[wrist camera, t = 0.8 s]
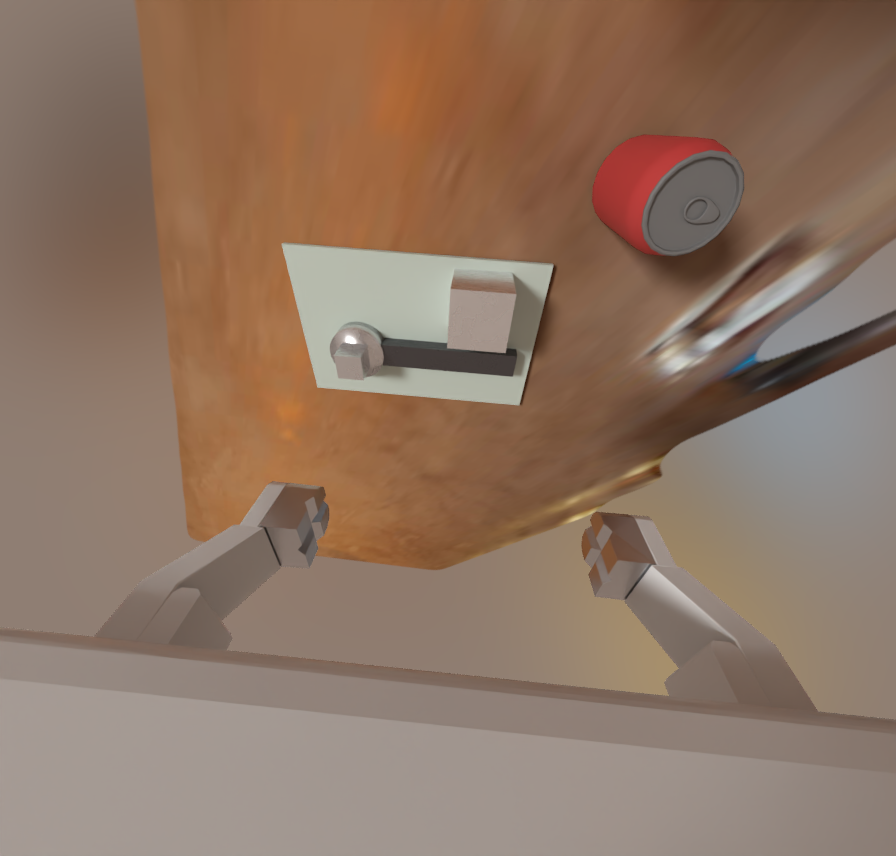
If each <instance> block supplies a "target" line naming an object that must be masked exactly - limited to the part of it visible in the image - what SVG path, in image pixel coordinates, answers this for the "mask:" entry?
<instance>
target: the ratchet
mask: <svg viewBox="0 0 896 856" xmlns="http://www.w3.org/2000/svg"><path fill="white" fill-rule="evenodd" d="M330 354H331V357H332V359H333V361H334V363H335V364H336V369H337V374H338V378H341V379H352V380H363V381H364V379H365V377H370V376H372V375H374V374H376V373H377V372H378V371H379V370H380V369H381V367H382V364H383V366H395V367H406V368H418V369H429V370H441V371H452V372H464V373H475V374H487V375H498V376H510V377H513V374H514V370H515V365H516V360H517V351H516V349H511V348H506V353H497V352H486V351H474V350H462V349H450V348H447V343H440V342H429V341H417V340H405V339H393V338H383V336H382V335H381V333H380V332H379V331H378V330H377V329H375V328H374V327H373V326H371V325H369V324H366V323H363V322H349V323H346V324H344V325H343V326H342V327H341V328H340V329H339V330H338V332H337V333H336V334H335V336H334V337H333V339H332V340H331V343H330Z"/></svg>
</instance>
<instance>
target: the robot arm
mask: <svg viewBox="0 0 896 856" xmlns="http://www.w3.org/2000/svg"><path fill="white" fill-rule="evenodd" d="M325 496H326V494H325V490H324V487H319V486H311V485H303V484H294V483H284V482H275V481H272V482H271V483H269V484H268V485H267V486H266V488H265V489H264V490H263V492H262V493H261V495H260V496H259V498H258V499H257V501H256V502H255V503H254V505H253V506H252V508H251V509H250V511H249V512H248V513H247V515H246V516H245V518H244V519H243V521H242V522H241V524H240V525H233V526H231V527H230V528H228V529H226V530H225V531H223V532H221V533H220V534H218V535H216V536H215V537H213V538H211V539H210V540H208V541H206V542H205V543H203V544H201V545H200V546H198V547H197V548H195V549H193V550H192V551H190V552H188V553H187V554H185V555H183V556H182V557H180V558H178V559H177V560H175V561H173V562H172V563H170V564H168V565H167V566H165V567H163V568H162V569H160V570H158V571H157V572H155V573H154V574H152V575H150V576H148V577H147V578H145V579H144V580H142V581H140V583H139V584H138V585H137V586H136V587H135V588H134V590H133V591H132V592H131V594H129V596H128V597H127V598H126V599H125V600H124V602H123V603H122V604H121V605H120V606H119V607H118V609H117V610H116V611H115V612H114V614H113V615H112V616H111V617H110V618H109V619H108V621H107V622H106V623H105V624H104V625H103V626H102V628H101V629H100V630H99V631H98V632H97V633H96V635H95V636H94V637H92V636H83V635H73V634H64V633H54V632H43V631H34V630H24V629H15V628H4V627H0V856H896V720H894V719H885V718H875V717H865V716H856V715H846V714H837V713H826V712H818V711H817V709H816V707H815V706H814V704H813V703H812V701H811V700H810V698H809V697H808V695H807V693H806V692H805V691H804V689H803V687H802V686H801V684H800V683H799V681H798V679H797V678H796V676H795V675H794V673H793V672H792V670H791V669H790V667H789V665H788V664H787V662H786V661H785V659H784V658H783V656H782V655H781V653H780V652H779V650H778V648H777V647H776V645H775V644H773V643H772V642H771V641H770V640H768V639H767V638H766V637H765V636H764V635H763V634H761V633H760V632H759V631H758V630H757V629H755V628H754V627H753V626H752V625H751V624H749V623H748V622H747V621H746V620H745V619H743V618H742V617H741V616H740V615H738V614H737V613H736V612H735V611H734V610H732V609H731V608H730V607H729V606H728V605H727V604H725V603H724V602H723V601H722V600H721V599H719V598H718V597H717V596H716V595H714V594H713V593H712V592H711V591H710V590H708V589H707V588H706V587H705V586H704V585H702V584H701V583H700V582H699V581H698V580H696V579H695V578H694V577H693V576H692V575H691V574H689V573H688V572H687V571H686V570H685V569H683V568H680V567H677V566H676V564H675V562H674V560H673V558H672V556H671V555H670V553H669V551H668V549H667V547H666V545H665V543H664V541H663V539H662V538H661V536H660V534H659V532H658V530H657V528H656V526H655V524H654V522H653V521H652V519H651V518H649V517H648V516H637V515H628V514H615V513H603V512H595V513H594V514H593V515H592V517H591V519H590V521H591V524H592V526H590V527H589V528H587V529H585V532H584V534H583V536H582V552H583V557H584V560H585V561H586V562H587V563H588V565H589V566H590V567H591V568H592V569H591V571H590V573H589V578H590V581H591V585H592V588H593V591H594V595H595V596H596V597H603V598H611V599H619V600H625V603H626V604H627V605H628V607H629V608H630V609H631V610H632V612H633V613H634V614H635V615H636V616H637V618H638V619H639V620H640V621H641V623H642V624H643V625H644V626H645V627H646V629H647V630H648V631H649V632H650V633H651V635H652V636H653V637H654V638H655V640H656V641H657V642H658V643H659V644H660V646H661V647H662V648H663V649H664V651H665V652H666V653H667V654H668V656H669V657H670V658H671V659H672V660H673V662H674V663H675V664H676V665H677V667H678V668H679V669H678V670H676V671H675V672H674V673H673V674H672V675H670V676H669V677H668V678H667V679H666V681H665V686H666V689H667V691H668V694H669V696H663V695H653V694H644V693H634V692H625V691H615V690H605V689H596V688H585V687H576V686H566V685H557V684H546V683H537V682H528V681H518V680H509V679H499V678H489V677H480V676H470V675H461V674H451V673H441V672H432V671H422V670H412V669H403V668H393V667H383V666H374V665H363V664H354V663H345V662H334V661H325V660H315V659H306V658H296V657H286V656H276V655H267V654H257V653H248V652H237V651H228V650H227V648H228V646H229V644H230V642H231V640H232V636H231V633H230V632H229V630H228V629H227V628H226V626H225V625H224V623H223V622H222V620H223V619H224V618H225V617H227V615H229V614H230V613H231V612H232V611H233V610H234V609H235V608H237V607H238V606H239V605H240V604H241V603H242V602H243V601H244V600H246V599H247V598H248V597H249V596H250V595H251V594H252V593H253V592H254V591H256V589H257V588H259V587H260V586H261V585H262V584H263V583H264V582H266V581H267V580H268V579H269V578H270V577H271V576H272V575H273V574H275V573H276V572H277V571H278V570H279V569H280V566H283V567H296V568H310V566H311V564H312V561H313V559H314V557H315V554H316V552H317V550H318V546H317V542H316V541H317V540H318V539H320V538H321V537H322V536H324V534H325V531H326V529H327V526H328V521H329V507H328V505H327V504H326V503H325V502H324V501H323V500H324V498H325Z"/></svg>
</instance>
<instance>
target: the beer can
mask: <svg viewBox="0 0 896 856" xmlns="http://www.w3.org/2000/svg"><path fill="white" fill-rule="evenodd" d="M743 191H744V172H743V170H742V168H741V166H740V164H739V162H738V160H737V159H736V158H734V157H733V156H732V154H731V152H730V151H729V150H728V149H727V148H725V147H724V146H722V145H721V144H720V143H718V142H717V141H715V140H713V139H705V138H698V137H679V136H661V135H641V136H637V137H633V138H630V139H629V140H627V141H625V142H624V143H622V144H621V145H619V146H617V147H616V148H615V149H614V150H613V152H612V153H611V154H610V155H609V156H608V157H607V158H606V159H605V161H604V162H603V164H602V166H601V167H600V169H599V171H598V173H597V176H596V179H595V182H594V185H593V196H592V202H593V205H594V209H595V213H596V214H597V215H598V217H599V218H600V220H601V221H602V222H603V223H605V224H606V225H607V226H608V227H610V228H611V229H612V230H613V231H615V232H616V233H617V234H618V235H620V236H621V237H622V238H623V239H625V240H626V241H627V242H628V243H629V244H631V245H632V246H633V247H635V248H636V249H638V250H640V251H642V252H643V253H645V254H652V255H660V256H665V255H668V256H678V255H683V254H688V253H691V252H693V251H695V250H697V249H699V248H701V247H703V246H705V245H706V244H707V243H709V242H710V241H711V240H713V239H714V238H715V237H716V236H718V235H719V233H720V232H721V231H722V230H723V229H724V228H725V227H726V226H727V224H728V223H729V222H730V221H731V219H732V217H733V216H734V214H735V212H736V210H737V209H738V207H739V205H740V201H741V198H742V194H743Z"/></svg>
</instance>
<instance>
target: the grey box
mask: <svg viewBox="0 0 896 856" xmlns="http://www.w3.org/2000/svg"><path fill="white" fill-rule="evenodd" d="M515 300H516V289H515V284H514V279H513V274H512V273H510V272H497V271H485V270H472V269H459V268H455V269H454V274H453V279H452V284H451V289H450V306H449V324H448V342H447V348H450V349H462V350H474V351H486V352H497V353H506V348H507V343H508V337H509V332H510V327H511V321H512V316H513V311H514V305H515Z"/></svg>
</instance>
